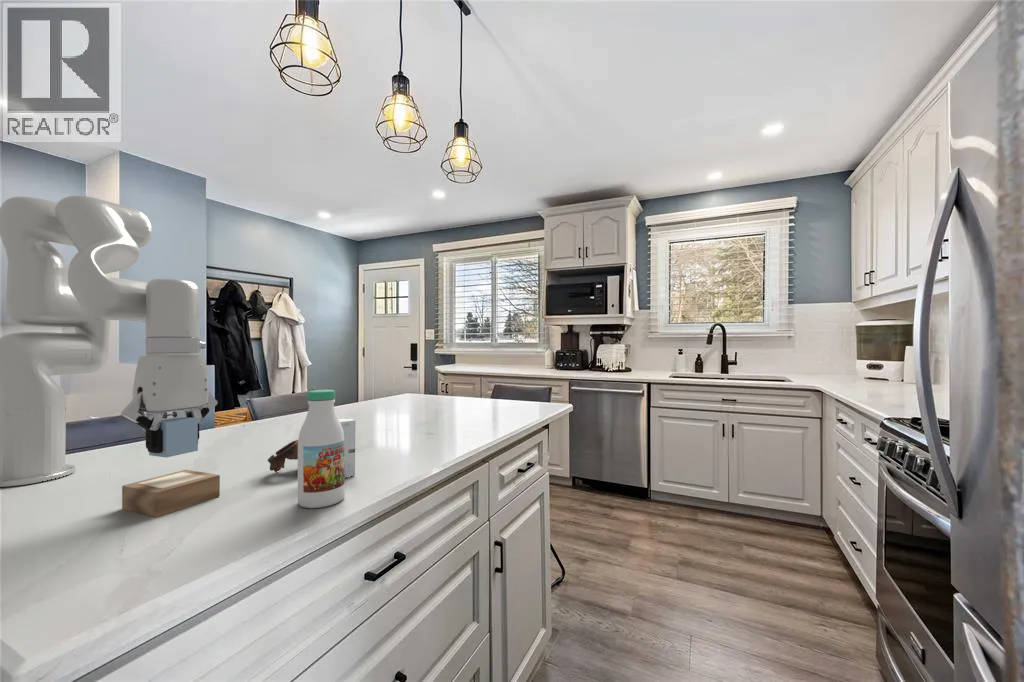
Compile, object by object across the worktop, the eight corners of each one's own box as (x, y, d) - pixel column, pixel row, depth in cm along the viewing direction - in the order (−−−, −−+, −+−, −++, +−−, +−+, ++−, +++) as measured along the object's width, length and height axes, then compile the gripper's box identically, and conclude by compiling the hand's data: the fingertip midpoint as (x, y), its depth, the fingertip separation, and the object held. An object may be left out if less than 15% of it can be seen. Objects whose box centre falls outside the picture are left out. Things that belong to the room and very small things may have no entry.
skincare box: (327, 482, 84) (327, 423, 85) (319, 477, 88) (319, 420, 88) (356, 475, 89) (356, 419, 89) (348, 471, 92) (348, 417, 92)
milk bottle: (287, 508, 71) (287, 392, 71) (315, 492, 79) (315, 388, 79) (328, 510, 70) (327, 393, 70) (353, 494, 77) (352, 388, 78)
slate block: (149, 455, 73) (149, 421, 73) (180, 448, 77) (180, 416, 78) (166, 457, 71) (166, 422, 71) (197, 450, 76) (197, 418, 76)
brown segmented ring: (311, 481, 87) (289, 450, 85) (276, 499, 88) (253, 468, 87) (337, 452, 98) (317, 424, 97) (305, 468, 100) (285, 441, 98)
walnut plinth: (122, 508, 71) (122, 485, 71) (185, 490, 81) (185, 469, 81) (157, 517, 68) (157, 492, 68) (219, 496, 77) (219, 474, 77)
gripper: (209, 348, 84) (209, 437, 84) (101, 348, 68) (100, 459, 68) (234, 347, 81) (234, 439, 81) (127, 347, 65) (127, 462, 65)
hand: (173, 447), depth 74 cm, fingers closed on slate block, 5 cm apart
